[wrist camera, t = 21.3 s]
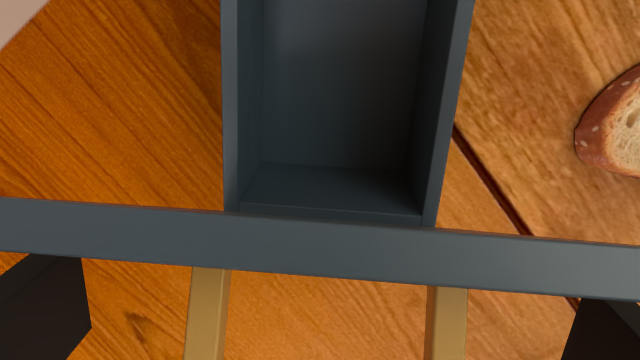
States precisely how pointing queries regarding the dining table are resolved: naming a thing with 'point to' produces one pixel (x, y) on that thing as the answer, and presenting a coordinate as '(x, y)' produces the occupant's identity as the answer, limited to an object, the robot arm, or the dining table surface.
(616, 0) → the dining table surface
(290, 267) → the chest lid
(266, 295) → the dining table surface
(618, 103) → the bread slice
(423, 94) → the chest
